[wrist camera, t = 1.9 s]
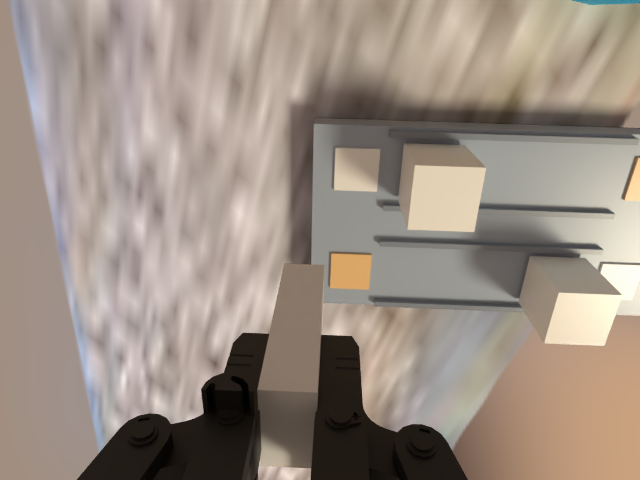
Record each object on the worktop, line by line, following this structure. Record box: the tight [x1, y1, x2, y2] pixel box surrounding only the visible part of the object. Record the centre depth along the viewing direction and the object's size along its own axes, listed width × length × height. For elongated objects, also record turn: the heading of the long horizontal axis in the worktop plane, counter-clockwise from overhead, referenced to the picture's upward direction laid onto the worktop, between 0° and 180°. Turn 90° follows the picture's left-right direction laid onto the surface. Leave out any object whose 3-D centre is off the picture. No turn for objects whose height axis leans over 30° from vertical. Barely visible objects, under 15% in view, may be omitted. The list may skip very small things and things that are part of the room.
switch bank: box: [311, 118, 640, 316], centre depth 34 cm, size 14×26×2 cm, turn 89°
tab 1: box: [398, 143, 486, 232], centre depth 30 cm, size 4×4×5 cm
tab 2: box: [519, 256, 623, 346], centre depth 33 cm, size 4×4×5 cm
